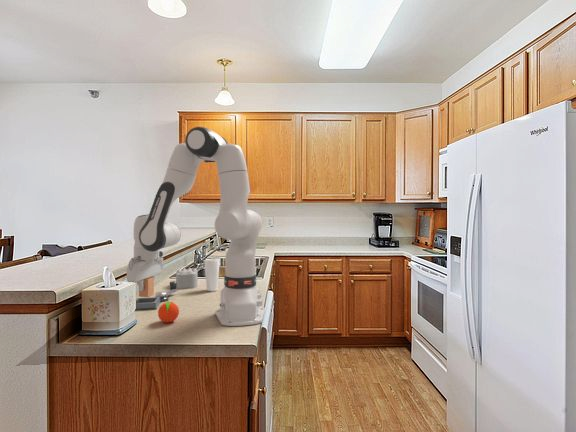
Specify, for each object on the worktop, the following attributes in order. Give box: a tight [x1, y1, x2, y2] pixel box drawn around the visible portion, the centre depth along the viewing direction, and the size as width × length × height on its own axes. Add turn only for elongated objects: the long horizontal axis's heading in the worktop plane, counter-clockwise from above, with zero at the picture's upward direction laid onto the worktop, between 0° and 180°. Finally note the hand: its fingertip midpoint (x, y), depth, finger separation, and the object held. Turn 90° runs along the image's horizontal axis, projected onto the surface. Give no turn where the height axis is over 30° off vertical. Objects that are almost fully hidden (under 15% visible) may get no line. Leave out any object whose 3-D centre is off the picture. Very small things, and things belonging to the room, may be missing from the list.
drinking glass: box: [204, 257, 220, 292], centre depth 166 cm, size 7×7×15 cm
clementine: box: [157, 301, 180, 324], centre depth 120 cm, size 8×7×7 cm
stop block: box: [138, 277, 155, 298], centre depth 139 cm, size 4×4×7 cm
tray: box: [135, 296, 161, 311], centre depth 139 cm, size 9×9×2 cm
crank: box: [155, 280, 178, 298], centre depth 153 cm, size 13×4×4 cm, turn 165°
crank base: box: [160, 295, 169, 303], centre depth 149 cm, size 6×6×1 cm
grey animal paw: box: [175, 267, 199, 290], centre depth 177 cm, size 10×13×9 cm
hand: (145, 288), depth 139 cm, fingers closed on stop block, 4 cm apart
